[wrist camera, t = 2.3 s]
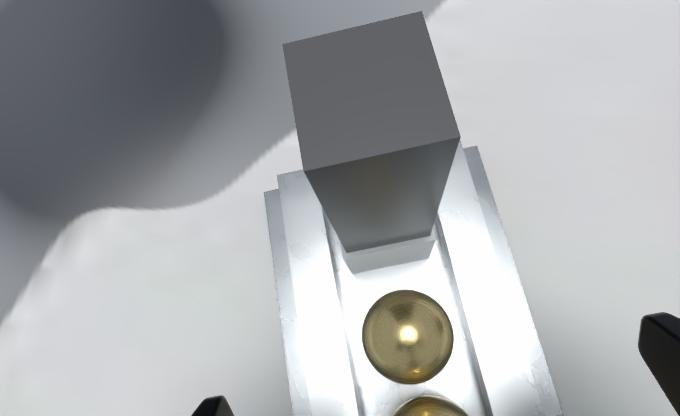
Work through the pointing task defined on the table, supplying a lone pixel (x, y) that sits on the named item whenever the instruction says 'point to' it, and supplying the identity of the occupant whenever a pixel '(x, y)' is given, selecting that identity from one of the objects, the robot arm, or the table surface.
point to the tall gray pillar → (374, 136)
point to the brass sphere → (407, 337)
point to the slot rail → (423, 275)
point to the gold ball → (429, 407)
